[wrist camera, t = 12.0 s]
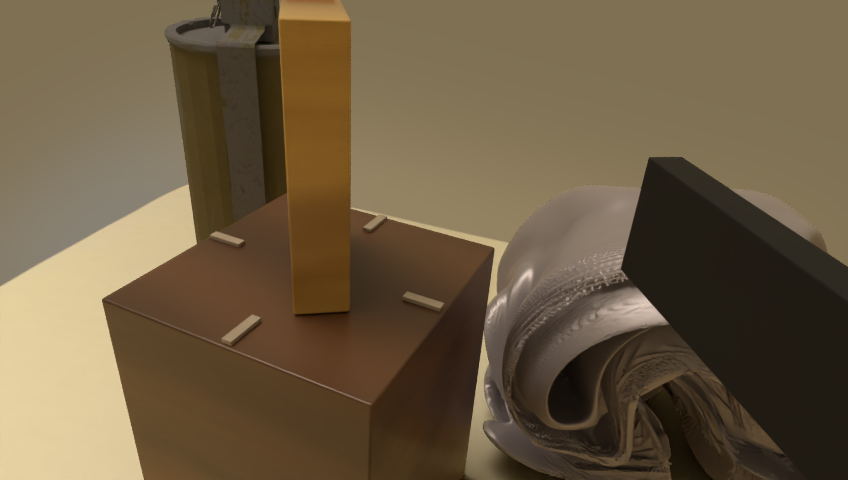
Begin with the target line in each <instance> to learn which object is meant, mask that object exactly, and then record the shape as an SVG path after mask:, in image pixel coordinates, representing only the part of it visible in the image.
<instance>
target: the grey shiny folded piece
mask: <svg viewBox="0 0 848 480" xmlns="http://www.w3.org/2000/svg"><path fill="white" fill-rule="evenodd" d="M731 190H732V191H734V192H735V193H737V194H738V195H740V196H741V197H743V198H744V199H746V200H747V201H749V202H750V203H752V204H753V205H755V206H756V207H758V208H760V209H761V210H763V211H764V212H766V213H767V214H769V215H770V216H772V217H773V218H775V219H776V220H778V221H779V222H781V223H782V224H784V225H785V226H787V227H788V228H790V229H791V230H793V231H794V232H796V233H797V234H799V235H800V236H802V237H803V238H805V239H806V240H808V241H809V242H811V243H812V244H814V245H815V246H817V247H819V248H820V249H822V250H823V251H825V252H826V253H828V252H827V248H826V245H825V242H824V240H823V237H822V235H821V233H820V232H819V231H818V229H817V228H815V226H813V225H812V224H811V223H809V222H808V221H807V220H805V219H804V218H803V217H802V216H800V215H799V214H798V213H797V212H796V211H795V210H794V209H792V208H791V207H790V206H788V205H787V204H786V203H785V202H783V201H782V200H780V199H778V198H776V197H774V196H771V195H768V194H765V193H761V192H756V191H750V190H741V189H731ZM640 191H641V188H633V187H619V186H602V185H585V186H580V187H576V188H573V189H570V190H567V191H565V192H563V193H561V194H559V195H557V196H556V197H554V198H552V199H551V200H549V201H548V202H546V203H545V204H543V205H542V206H541V207H540V208H539V209H537V210H536V211H535V212H534V213H533V214H532V215H531V216H530V217H529V218H528V219H527V220H526V221H525V222H524V223H523V224H522V226H521V227H520V228H519V229H518V231H517V232H516V233H515V235H514V236H513V238H512V239H511V241H510V242H509V244H508V246H507V248H506V249H505V251H504V253H503V255H502V258H501V260H500V263H499V267H498V274H497V296H496V297H495V298H494V299H493V300H492V301H491V302H490V303H489V305H488V306H487V309H486V316H485V324H484V336H485V344H486V351H487V355H488V360H489V363H490V364H489V365H488V367H487V370H486V373H485V378H484V392H485V398H486V402H487V404H488V407H489V409H490V411H491V413H492V415H493V417H494V419H495V421H485V422H484V423H483V430H484V432H485V434H486V435H487V437H488V438H489V440H490V441H491V442H492V443H493V444H494V445H495V446H496V447H497V448H498V449H500V450H501V451H503V452H504V453H505V454H507V455H509V456H510V457H512V458H513V459H515V460H517V461H518V462H520V463H522V464H524V465H526V466H527V467H530V468H532V469H534V470H537V471H538V472H541V473H546V474H549V475H550V476H555V477H561V479H562V478H564V479H565V480H672V479H671V473H670V469H669V465H671V464H672V463H671V462H668V459H670V456H671V455H672V454H671V453H670V452H671V450H670V446H669V440H668V437H667V435H666V434H665V433H664V430H663V426H662V424H661V422H660V421H659V419H658V418H657V416H656V415H655V413H654V412H653V411H652V409H651V408H650V407H649V405H648V404H647V403H646V402H645V401H646V400H648V399H649V398H651V397H653V396H654V395H656V394H657V393H659V392H660V391H662V390H663V389H665V391H666V392H667V394H668V395H669V397H670V398H671V399H672V401H673V403H674V405H675V407H674V408H675V411H676V410H679V411H680V414H681V415H680V417H681V421H682V425H683V429H684V434H685V435H686V438H687V441H688V444H689V446H690V448H691V450H692V452H693V454H694V455H695V457H696V459H697V461H698V462H699V463H700V465H701V466H702V468H703V469H704V470H705V472H706V473H707V474H708V475H709V476H710V477H711V478H712V479H713V480H807V479H806V478H805V477H804V475H803V474H802V473H801V472H800V471H799V470H798V469H797V468H796V466H795V465H794V464H793V463H792V462H791V461H790V460H789V458H788V457H787V456H786V455H785V454H784V453H783V452H782V451H781V449H780V448H779V447H778V446H777V445H776V444H775V443H774V442H773V440H772V439H771V438H770V437H769V436H768V435H767V434H766V433H765V431H764V430H763V429H762V428H761V427H760V426H759V425H758V424H757V422H756V421H755V420H754V419H753V418H752V417H751V416H750V414H749V413H748V412H747V411H746V410H745V409H744V408H743V407H742V405H741V404H740V403H739V402H738V401H737V400H736V399H735V398H734V396H733V395H732V394H731V393H730V392H729V391H728V390H727V389H726V387H725V386H724V385H723V384H722V383H721V382H720V381H719V380H718V378H717V377H716V376H715V375H714V374H713V373H712V372H711V370H710V369H709V368H708V367H707V366H706V365H705V364H704V363H703V361H702V360H701V359H700V358H699V357H698V356H697V355H696V354H695V352H694V351H693V350H692V349H691V348H690V347H689V346H688V345H687V343H686V342H685V341H684V340H683V339H682V338H681V337H680V336H679V334H678V333H677V332H676V331H675V330H674V329H673V328H672V326H671V325H670V324H669V323H668V322H667V321H666V320H665V319H664V317H663V316H662V315H661V314H660V313H659V312H658V311H657V310H656V308H655V307H654V306H653V305H652V304H651V303H650V302H649V301H648V299H647V298H646V297H645V296H644V295H643V294H642V293H641V292H640V290H639V289H638V288H637V287H636V286H635V285H634V284H633V282H632V281H631V280H630V279H629V278H628V277H627V276H626V275H625V273H624V272H623V271H622V270H621V265H622V261H623V257H624V254H625V250H626V246H627V242H628V238H629V234H630V230H631V226H632V222H633V218H634V214H635V211H636V207H637V203H638V199H639V195H640Z"/></svg>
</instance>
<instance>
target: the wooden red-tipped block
mask: <svg viewBox="0 0 848 480" xmlns="http://www.w3.org/2000/svg"><path fill="white" fill-rule="evenodd" d="M278 26H279V46H280V65H281V84H282V104H283V123H284V142H285V161H286V181H287V200H288V219H289V239H290V258H291V277H292V297H293V313H294V314H295V315H296V314H313V313H330V312H347V311H350V185H351V183H350V182H351V181H350V180H351V175H350V173H351V154H350V153H351V149H350V148H351V21H350V19H349V17H348V15H347V13H346V11H345V9H344V7H343V5H342V2H341V0H281V1H280V9H279V17H278Z"/></svg>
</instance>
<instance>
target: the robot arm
mask: <svg viewBox="0 0 848 480" xmlns="http://www.w3.org/2000/svg"><path fill="white" fill-rule="evenodd" d="M621 270H622V271H623V272H624V273H625V275H626V276H627V277H628V278H629V279H630V280H631V281H632V282H633V284H634V285H635V286H636V287H637V288H638V289H639V290H640V292H641V293H642V294H643V295H644V296H645V297H646V298H647V299H648V301H649V302H650V303H651V304H652V305H653V306H654V307H655V308H656V310H657V311H658V312H659V313H660V314H661V315H662V316H663V317H664V319H665V320H666V321H667V322H668V323H669V324H670V325H671V326H672V328H673V329H674V330H675V331H676V332H677V333H678V334H679V336H680V337H681V338H682V339H683V340H684V341H685V342H686V343H687V345H688V346H689V347H690V348H691V349H692V350H693V351H694V352H695V354H696V355H697V356H698V357H699V358H700V359H701V360H702V361H703V363H704V364H705V365H706V366H707V367H708V368H709V369H710V370H711V372H712V373H713V374H714V375H715V376H716V377H717V378H718V380H719V381H720V382H721V383H722V384H723V385H724V386H725V387H726V389H727V390H728V391H729V392H730V393H731V394H732V395H733V396H734V398H735V399H736V400H737V401H738V402H739V403H740V404H741V405H742V407H743V408H744V409H745V410H746V411H747V412H748V413H749V414H750V416H751V417H752V418H753V419H754V420H755V421H756V422H757V424H758V425H759V426H760V427H761V428H762V429H763V430H764V431H765V433H766V434H767V435H768V436H769V437H770V438H771V439H772V440H773V442H774V443H775V444H776V445H777V446H778V447H779V448H780V449H781V451H782V452H783V453H784V454H785V455H786V456H787V457H788V458H789V460H790V461H791V462H792V463H793V464H794V465H795V466H796V468H797V469H798V470H799V471H800V472H801V473H802V474H803V475H804V477H805V478H806V479H807V480H848V267H847V266H846V265H844V264H843V263H841V262H840V261H838V260H837V259H835V258H834V257H832V256H831V255H829V254H828V253H826V252H825V251H823V250H822V249H820V248H819V247H817V246H815V245H814V244H812V243H811V242H809V241H808V240H806V239H805V238H803V237H802V236H800V235H799V234H797V233H796V232H794V231H793V230H791V229H790V228H788V227H787V226H785V225H784V224H782V223H781V222H779V221H778V220H776V219H775V218H773V217H772V216H770V215H769V214H767V213H766V212H764V211H763V210H761V209H760V208H758V207H756V206H755V205H753V204H752V203H750V202H749V201H747V200H746V199H744V198H743V197H741V196H740V195H738V194H737V193H735V192H734V191H732V190H731V189H729V188H728V187H726V186H724V185H723V184H722V183H720V182H719V181H717V180H715V179H714V178H712V177H711V176H709V175H708V174H707V173H705V172H704V171H702V170H701V169H699V168H698V167H696V166H694V165H693V164H691V163H690V162H688V161H687V160H685V159H684V158H682V157H649V160H648V164H647V168H646V171H645V175H644V179H643V183H642V187H641V191H640V195H639V199H638V203H637V207H636V211H635V214H634V218H633V222H632V226H631V230H630V234H629V238H628V242H627V246H626V250H625V254H624V257H623V261H622V265H621Z"/></svg>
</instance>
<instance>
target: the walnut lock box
mask: <svg viewBox="0 0 848 480" xmlns="http://www.w3.org/2000/svg"><path fill="white" fill-rule="evenodd" d="M493 257H494V248H493V247H490V246H486V245H482V244H478V243H475V242H471V241H467V240H464V239H460V238H456V237H453V236H449V235H445V234H442V233H438V232H434V231H431V230H427V229H423V228H419V227H416V226H412V225H408V224H405V223H401V222H397V221H394V220H390V219H387V216H384V215H378V216H375V215H372V214H368V213H364V212H360V211H357V210H353V209H350V311H347V312H330V313H313V314H296V315H295V314H294V313H293V297H292V277H291V258H290V239H289V219H288V200H287V193H285V194H284V195H282V196H280V197H278V198H277V199H275V200H273V201H271V202H270V203H268V204H266V205H264V206H263V207H261V208H259V209H258V210H256V211H254V212H252V213H251V214H249V215H247V216H245V217H244V218H242V219H240V220H238V221H237V222H235V223H233V224H232V225H230V226H228V227H226V228H225V229H223V230H221V231H219V232H217V231H216V232H214V233H212V234H211V235H210V237H209V238H207V239H205V240H204V241H202V242H200V243H199V244H197V245H195V246H193V247H192V248H190V249H188V250H186V251H185V252H183V253H181V254H179V255H178V256H176V257H174V258H172V259H171V260H169V261H167V262H166V263H164V264H162V265H160V266H159V267H157V268H155V269H153V270H152V271H150V272H148V273H146V274H145V275H143V276H141V277H139V278H138V279H136V280H134V281H133V282H131V283H129V284H127V285H126V286H124V287H122V288H120V289H119V290H117V291H115V292H113V293H112V294H110V295H108V296H107V297H105V298H103V299H102V302H103V307H104V311H105V315H106V320H107V324H108V328H109V332H110V337H111V341H112V345H113V349H114V354H115V358H116V362H117V366H118V371H119V375H120V379H121V383H122V388H123V392H124V396H125V401H126V405H127V409H128V413H129V418H130V422H131V426H132V430H133V435H134V439H135V443H136V447H137V452H138V456H139V460H140V464H141V469H142V473H143V477H144V480H461V478H462V476H463V474H464V472H465V464H466V457H467V449H468V442H469V435H470V427H471V420H472V412H473V405H474V398H475V390H476V383H477V375H478V368H479V361H480V353H481V346H482V338H483V331H484V324H485V316H486V309H487V301H488V294H489V286H490V279H491V272H492V264H493Z"/></svg>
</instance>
